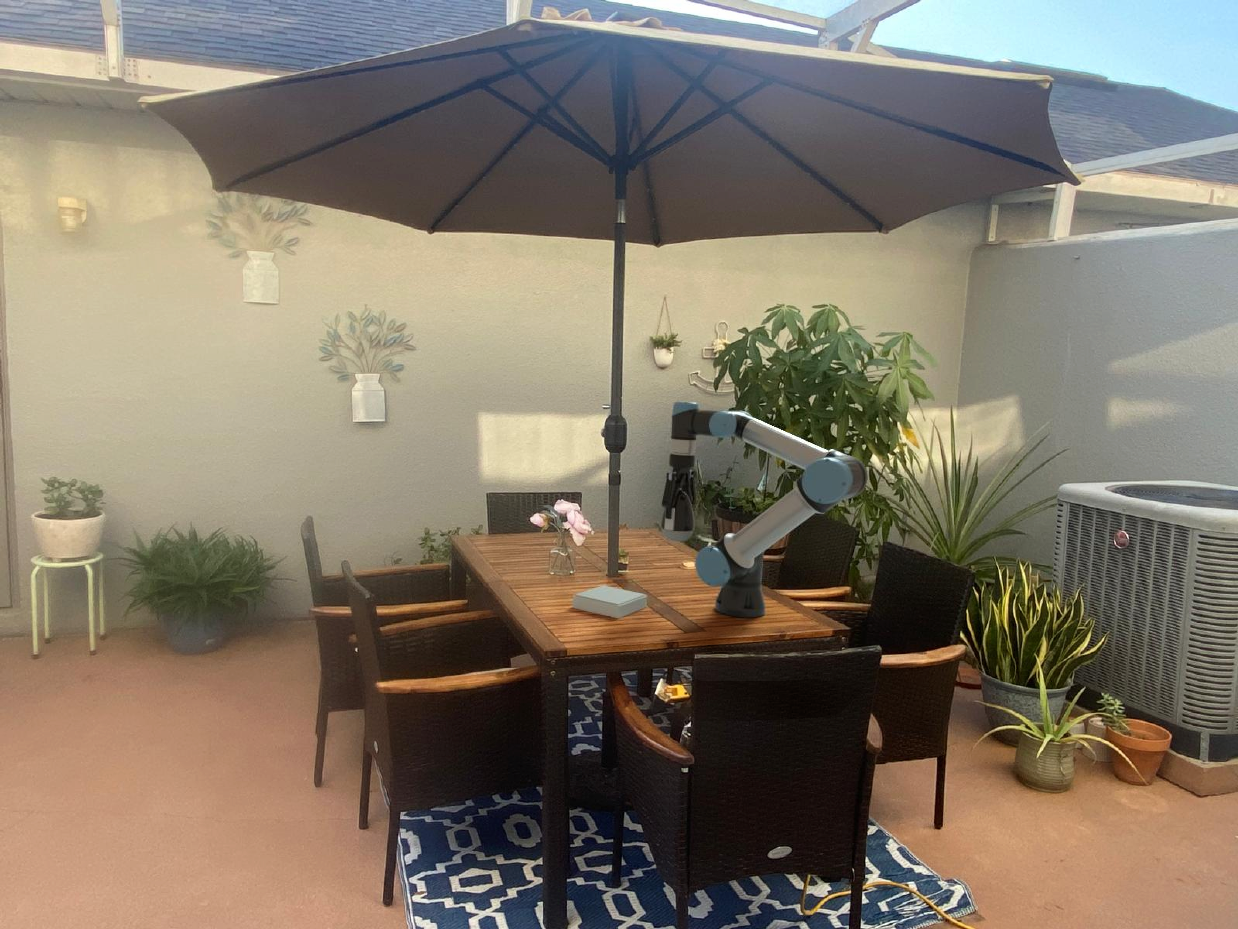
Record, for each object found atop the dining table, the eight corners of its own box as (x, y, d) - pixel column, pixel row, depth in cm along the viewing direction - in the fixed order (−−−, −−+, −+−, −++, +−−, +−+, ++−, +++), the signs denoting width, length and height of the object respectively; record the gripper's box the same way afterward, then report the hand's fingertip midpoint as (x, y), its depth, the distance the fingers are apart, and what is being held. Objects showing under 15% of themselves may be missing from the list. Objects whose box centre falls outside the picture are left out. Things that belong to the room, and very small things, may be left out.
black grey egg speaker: (666, 543, 243) (669, 491, 242) (655, 536, 253) (658, 487, 252) (698, 543, 246) (702, 492, 245) (686, 536, 256) (689, 487, 254)
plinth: (646, 607, 251) (647, 594, 250) (618, 618, 237) (618, 604, 237) (602, 597, 259) (602, 584, 259) (572, 607, 246) (573, 594, 245)
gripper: (688, 451, 259) (684, 521, 261) (652, 454, 239) (647, 530, 242) (710, 453, 255) (705, 524, 257) (675, 456, 236) (670, 534, 238)
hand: (677, 527), depth 249 cm, fingers closed on black grey egg speaker, 10 cm apart
